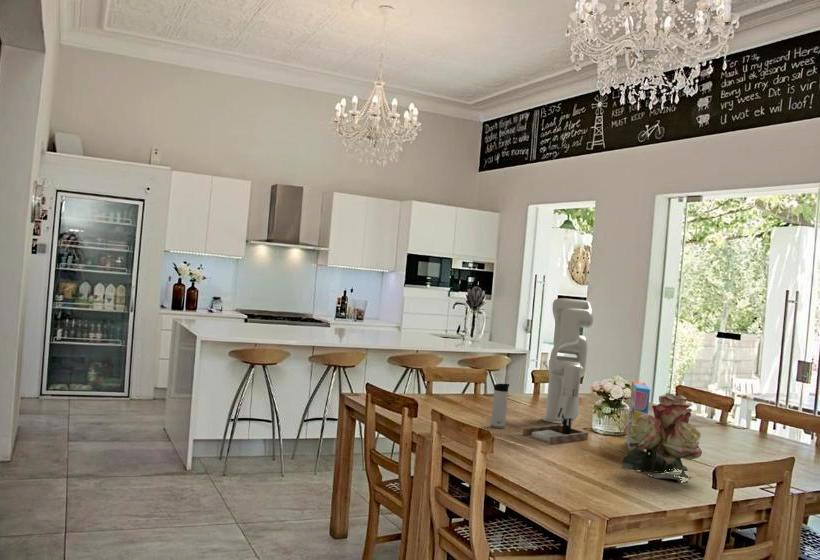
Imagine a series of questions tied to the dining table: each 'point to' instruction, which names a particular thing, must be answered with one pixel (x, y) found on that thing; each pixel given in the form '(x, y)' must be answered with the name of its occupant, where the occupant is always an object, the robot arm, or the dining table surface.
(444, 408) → the dining table surface
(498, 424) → the travel mug
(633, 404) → the game box
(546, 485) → the dining table surface
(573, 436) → the tray
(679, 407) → the rose bouquet
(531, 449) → the dining table surface
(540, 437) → the cover plate
